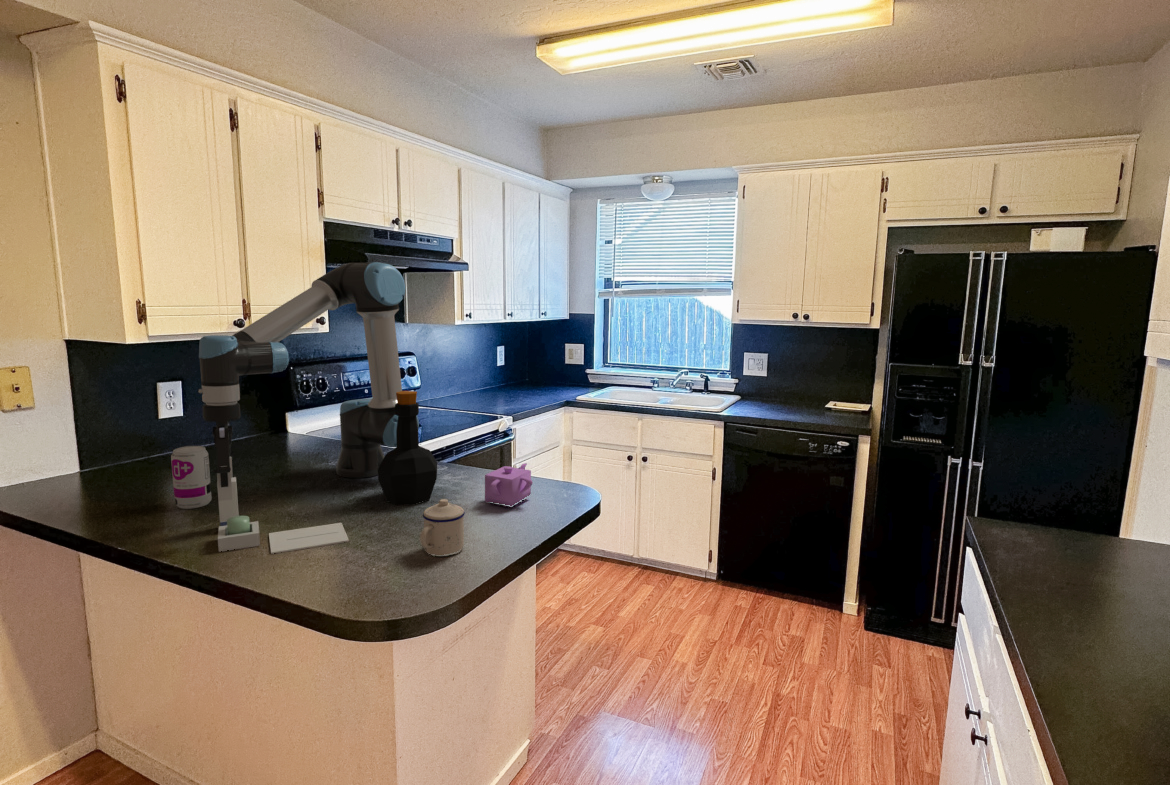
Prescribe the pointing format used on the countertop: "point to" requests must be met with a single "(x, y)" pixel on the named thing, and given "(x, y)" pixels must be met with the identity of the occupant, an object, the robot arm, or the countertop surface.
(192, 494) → the supplement can
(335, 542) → the slotted base plate
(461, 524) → the teacup with lid
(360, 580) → the countertop surface
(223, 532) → the housing
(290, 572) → the countertop surface
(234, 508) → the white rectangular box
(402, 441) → the bottle
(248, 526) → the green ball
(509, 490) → the teapot
